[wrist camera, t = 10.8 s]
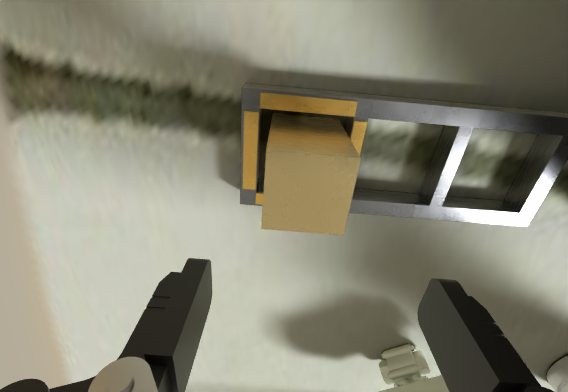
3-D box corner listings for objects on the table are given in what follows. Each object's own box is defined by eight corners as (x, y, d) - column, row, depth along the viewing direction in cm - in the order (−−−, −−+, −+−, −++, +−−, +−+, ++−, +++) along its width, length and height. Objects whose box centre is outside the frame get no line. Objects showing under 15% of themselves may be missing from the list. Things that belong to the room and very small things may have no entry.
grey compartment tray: (566, 112, 22) (593, 120, 20) (510, 213, 26) (528, 227, 24) (245, 82, 21) (241, 87, 19) (243, 192, 25) (239, 205, 24)
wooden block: (338, 119, 22) (361, 158, 15) (327, 177, 25) (343, 235, 18) (272, 113, 22) (266, 150, 15) (268, 172, 25) (261, 228, 18)
